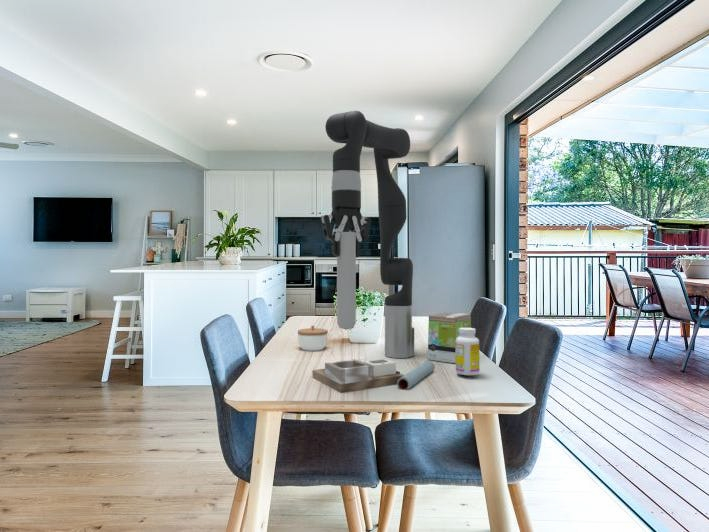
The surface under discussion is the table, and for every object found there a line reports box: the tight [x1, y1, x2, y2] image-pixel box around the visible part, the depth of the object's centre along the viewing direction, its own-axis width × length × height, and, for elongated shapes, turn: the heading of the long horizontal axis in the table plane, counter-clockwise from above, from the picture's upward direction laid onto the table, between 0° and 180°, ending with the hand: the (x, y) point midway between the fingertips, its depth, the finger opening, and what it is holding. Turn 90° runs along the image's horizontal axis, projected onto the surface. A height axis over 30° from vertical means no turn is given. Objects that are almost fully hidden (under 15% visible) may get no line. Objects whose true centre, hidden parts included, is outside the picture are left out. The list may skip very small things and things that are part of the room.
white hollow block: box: [363, 358, 397, 377], centre depth 119 cm, size 7×5×3 cm
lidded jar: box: [297, 325, 328, 352], centre depth 160 cm, size 11×11×9 cm
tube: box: [336, 231, 357, 330], centre depth 115 cm, size 5×5×25 cm
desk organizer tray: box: [312, 359, 405, 393], centre depth 120 cm, size 19×17×6 cm
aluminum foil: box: [396, 360, 436, 391], centre depth 122 cm, size 23×7×3 cm, turn 154°
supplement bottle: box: [455, 327, 480, 376], centre depth 128 cm, size 7×7×13 cm
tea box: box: [427, 312, 472, 364], centre depth 150 cm, size 15×10×15 cm, turn 148°
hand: (346, 256), depth 115 cm, fingers closed on tube, 5 cm apart
